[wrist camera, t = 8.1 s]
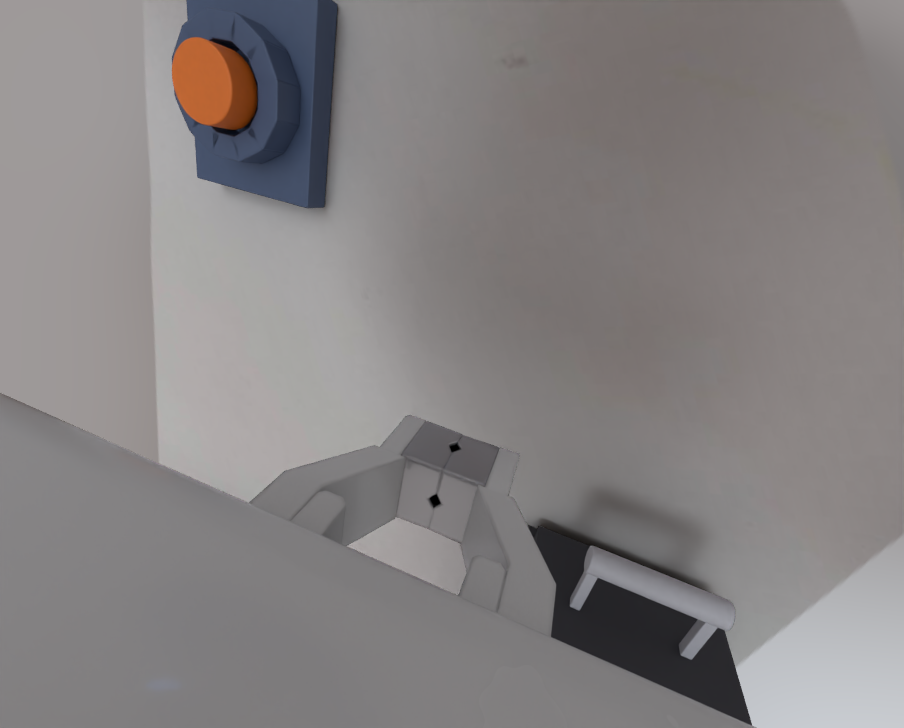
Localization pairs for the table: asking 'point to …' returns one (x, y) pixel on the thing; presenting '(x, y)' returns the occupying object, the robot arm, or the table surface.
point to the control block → (271, 96)
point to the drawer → (643, 622)
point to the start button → (214, 84)
